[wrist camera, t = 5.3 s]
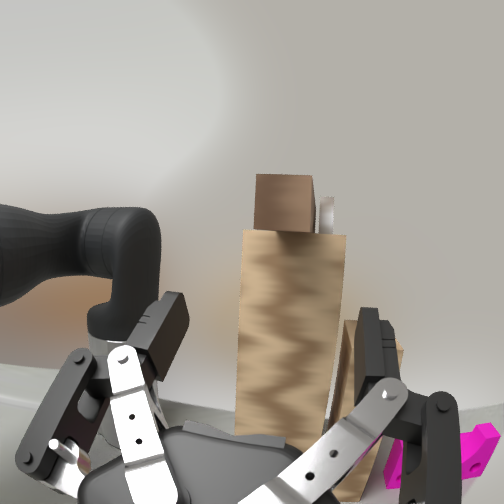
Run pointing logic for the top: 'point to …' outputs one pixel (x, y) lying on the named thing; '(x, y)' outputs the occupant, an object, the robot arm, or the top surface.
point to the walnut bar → (284, 203)
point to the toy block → (472, 454)
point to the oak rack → (296, 340)
